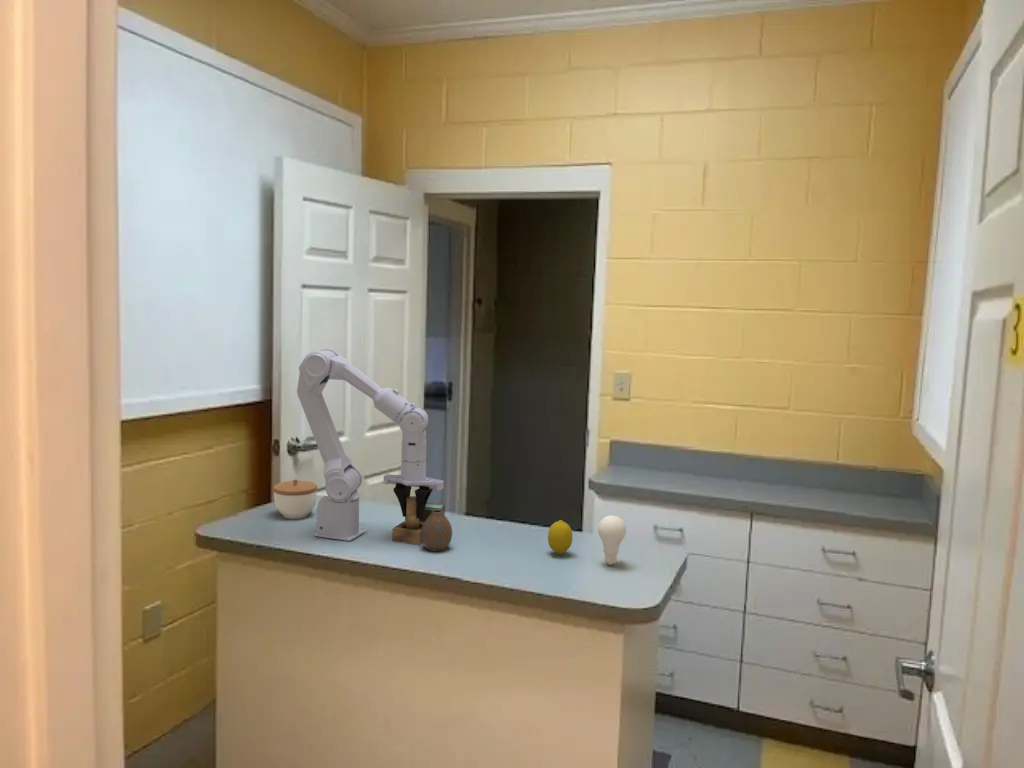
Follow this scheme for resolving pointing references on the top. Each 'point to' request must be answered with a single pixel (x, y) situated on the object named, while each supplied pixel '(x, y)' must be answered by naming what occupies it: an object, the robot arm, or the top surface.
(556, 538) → the lemon
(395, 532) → the brown boxy frame piece
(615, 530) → the lightbulb
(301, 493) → the lidded jar
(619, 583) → the top surface
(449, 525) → the vase
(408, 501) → the oak peg
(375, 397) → the robot arm
